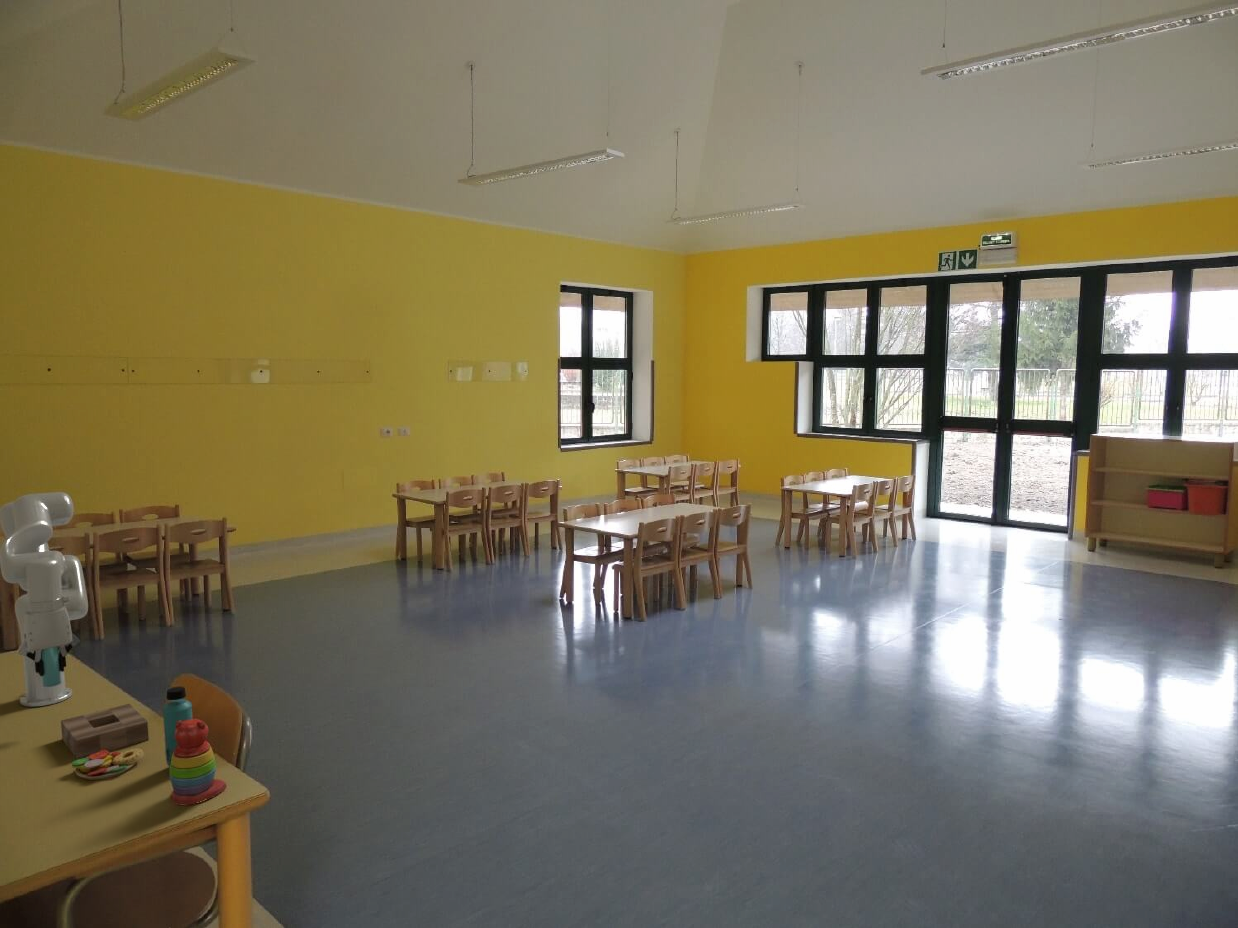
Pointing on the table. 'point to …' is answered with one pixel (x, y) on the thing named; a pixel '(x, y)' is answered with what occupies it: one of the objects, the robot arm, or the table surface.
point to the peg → (51, 667)
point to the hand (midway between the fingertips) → (51, 671)
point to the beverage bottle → (174, 717)
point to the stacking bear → (193, 764)
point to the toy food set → (106, 763)
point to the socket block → (104, 730)
